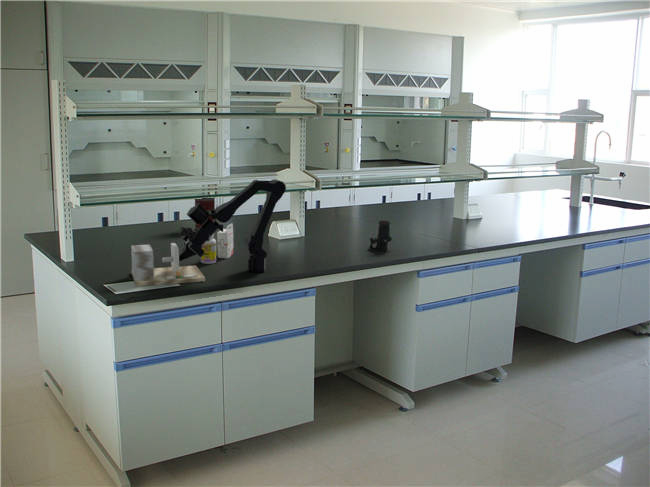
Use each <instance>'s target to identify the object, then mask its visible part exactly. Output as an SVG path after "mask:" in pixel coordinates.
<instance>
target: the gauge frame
mask: <svg viewBox="0 0 650 487" xmlns="http://www.w3.org/2000/svg"><path fill="white" fill-rule="evenodd" d="M130 247H131V248H130V249H131V251H130V252H131V254H130V256H131V269H130V271H131V272H130V274H131V276H132V279H133V282H134V284H135V287H137V286H139V287H150V286H149V285H152V286H162V285H161V284H164V285H174V284H187V283H200V282H201V281H202V282H206V276H204V274H203V273H202V272H201V270H200V269H199V268H198V266H197V265H182V266H180V265H179V273H180V276H177V275H176V276H175V275H174V273H173V271H172V270H171V266H167V267H155V266H154V250H153V248H152V246H151V245H150V244H136V245H131V246H130ZM202 282H201V283H202Z"/></svg>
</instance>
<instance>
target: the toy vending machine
mask: <svg viewBox="0 0 650 487" xmlns="http://www.w3.org/2000/svg"><path fill="white" fill-rule="evenodd" d="M215 202H216V201H215V197H214V198H202V199H195V198H194V206H195V205H197V204H198V203H200V204H201V205H202V206H203V208H204V209H205V210H207V211H209V210H215V209H216V206H215V205H216V203H215ZM208 217H209V218H210V219H211V220H216V219H213V218H211V217H210V216H208ZM194 223H195V222H194ZM203 224H204V223H203ZM203 224H196V223H195V224H194V230H195V229H196V228H198V229H199V228H201V226H202V225H203ZM201 229H202V228H201Z"/></svg>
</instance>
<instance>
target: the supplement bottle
mask: <svg viewBox="0 0 650 487" xmlns="http://www.w3.org/2000/svg"><path fill="white" fill-rule="evenodd" d="M214 236H215V233H214V234H213V235H212V236H211V237H210V238H209V239H210V240H209V241H206V242H205V243H204V244H203V245H202V247H203V248H202V249H203V250H204V254H203V256H202V257H200V263H201V264H206V265H210V264H211V265H212V264H215V263H216V262H217V239H215V238H214Z"/></svg>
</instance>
